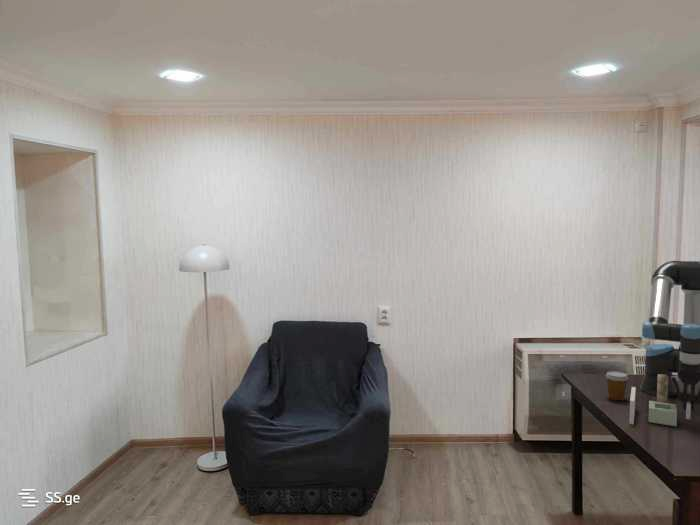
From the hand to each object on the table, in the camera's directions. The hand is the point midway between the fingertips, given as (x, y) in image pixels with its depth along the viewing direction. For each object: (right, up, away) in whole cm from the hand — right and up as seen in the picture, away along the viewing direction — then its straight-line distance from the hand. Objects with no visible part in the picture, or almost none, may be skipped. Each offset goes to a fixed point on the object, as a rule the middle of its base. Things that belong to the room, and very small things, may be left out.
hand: (687, 417), depth 217 cm
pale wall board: (-17, -2, +10) cm, 20 cm away
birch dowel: (-1, -2, +16) cm, 16 cm away
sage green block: (-8, -3, +5) cm, 10 cm away
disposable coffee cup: (-13, -1, +32) cm, 35 cm away
